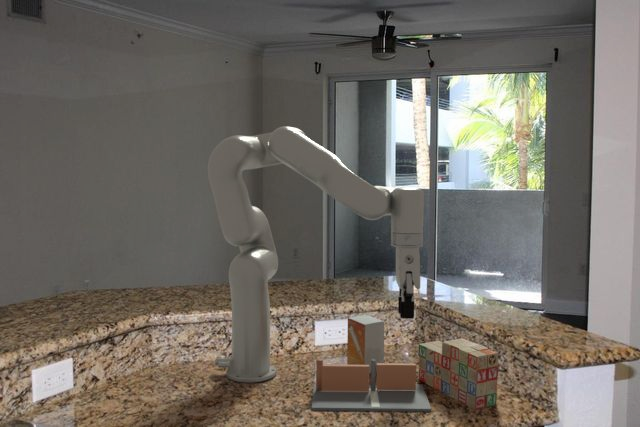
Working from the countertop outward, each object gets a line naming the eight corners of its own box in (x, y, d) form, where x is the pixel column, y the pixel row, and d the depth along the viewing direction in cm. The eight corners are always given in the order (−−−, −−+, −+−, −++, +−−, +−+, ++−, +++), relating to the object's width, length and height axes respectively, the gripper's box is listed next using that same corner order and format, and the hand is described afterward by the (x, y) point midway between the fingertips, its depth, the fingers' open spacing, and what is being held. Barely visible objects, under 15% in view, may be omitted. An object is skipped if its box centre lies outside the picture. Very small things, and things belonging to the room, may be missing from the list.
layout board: (311, 410, 143) (311, 407, 142) (313, 385, 157) (313, 383, 157) (431, 411, 142) (431, 408, 142) (422, 386, 157) (422, 384, 157)
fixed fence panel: (316, 391, 152) (316, 361, 151) (316, 388, 154) (316, 359, 153) (369, 391, 152) (369, 361, 151) (368, 389, 153) (368, 359, 153)
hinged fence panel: (370, 391, 152) (371, 361, 151) (370, 389, 153) (370, 359, 153) (415, 391, 152) (416, 361, 151) (415, 389, 153) (415, 359, 152)
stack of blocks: (417, 380, 162) (418, 331, 161) (438, 376, 165) (439, 328, 163) (475, 410, 143) (477, 355, 142) (497, 405, 146) (499, 351, 145)
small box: (346, 365, 172) (346, 317, 171) (366, 361, 176) (366, 314, 174) (364, 374, 165) (364, 324, 164) (384, 370, 169) (385, 320, 168)
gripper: (427, 244, 146) (426, 325, 148) (418, 235, 163) (417, 307, 165) (394, 244, 146) (393, 324, 148) (388, 235, 163) (387, 307, 165)
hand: (406, 314), depth 156 cm, fingers open, 4 cm apart
